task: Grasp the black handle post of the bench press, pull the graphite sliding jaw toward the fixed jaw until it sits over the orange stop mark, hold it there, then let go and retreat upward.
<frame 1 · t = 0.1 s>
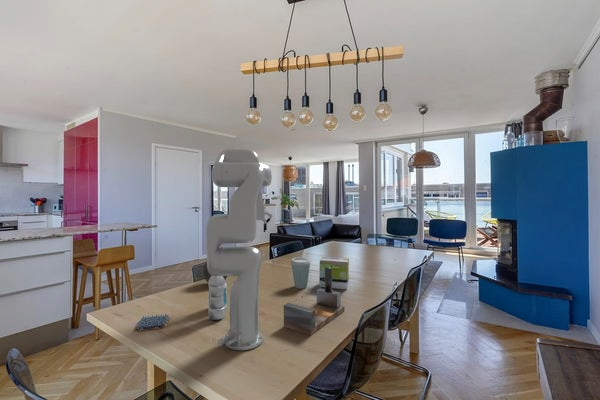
hand: (254, 231, 140), 31 cm above the table, tool pointing down, fingers open, 9 cm apart
disposable coffee cup: (300, 287, 153), on the table
woven mat: (153, 326, 108), on the table
sliding jaw: (328, 286, 121), point 10 cm above the table, slide at 0.0 cm
press base: (316, 318, 113), on the table
pill bottle: (218, 309, 123), on the table
plastic bottle: (216, 319, 113), on the table
cantaloupe: (216, 284, 158), on the table
tea box: (334, 286, 154), on the table
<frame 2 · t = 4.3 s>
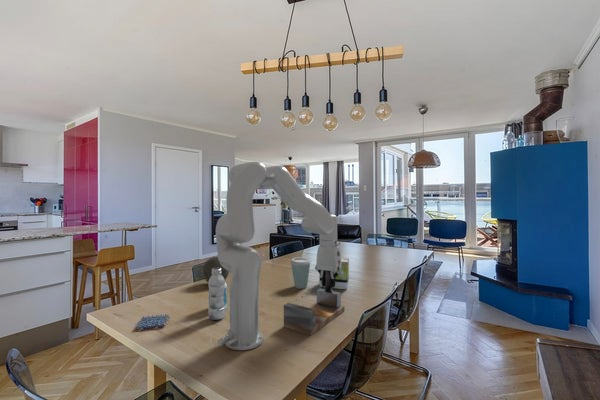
hand: (328, 286, 121), 10 cm above the table, tool pointing down, fingers closed on sliding jaw, 3 cm apart
sliding jaw: (328, 286, 121), point 10 cm above the table, slide at 0.0 cm, touching gripper
everything else where it was.
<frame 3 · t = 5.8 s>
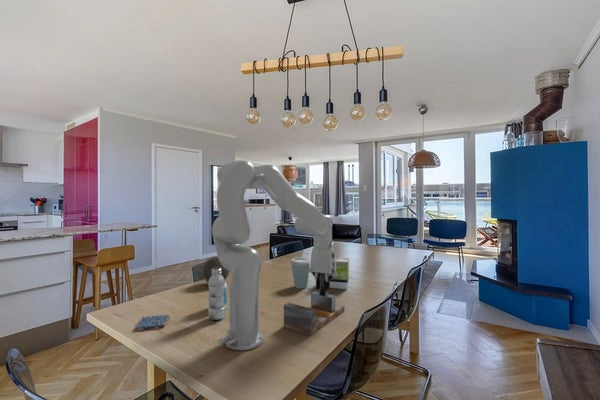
hand: (322, 289, 117), 10 cm above the table, tool pointing down, fingers closed on sliding jaw, 3 cm apart
sliding jaw: (322, 289, 117), point 10 cm above the table, slide at 4.6 cm, touching gripper
everything else where it was.
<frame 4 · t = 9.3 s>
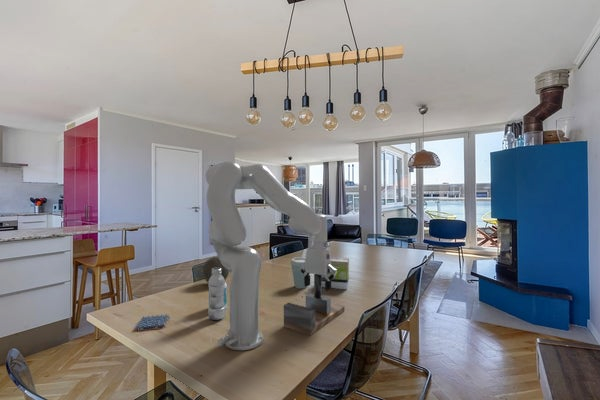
hand: (317, 288, 114), 12 cm above the table, tool pointing down, fingers open, 9 cm apart
sliding jaw: (317, 291, 114), point 10 cm above the table, slide at 8.5 cm
everything else where it was.
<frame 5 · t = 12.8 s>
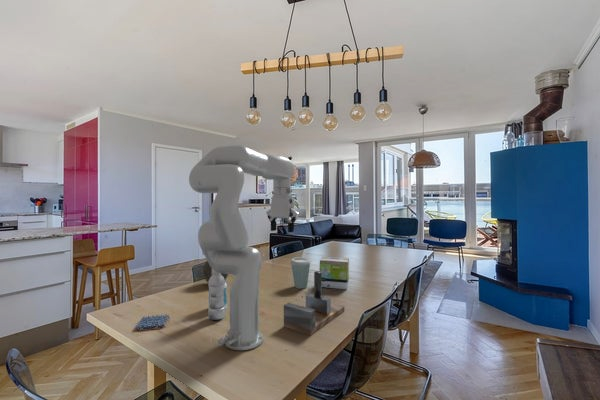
hand: (282, 231, 124), 33 cm above the table, tool pointing down, fingers open, 9 cm apart
nothing on the table moved.
at the end: sliding jaw slide at 8.5 cm; the gripper is holding nothing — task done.
